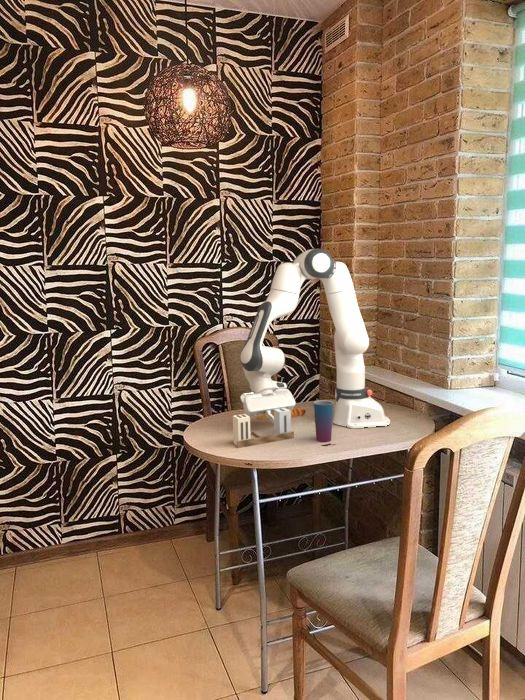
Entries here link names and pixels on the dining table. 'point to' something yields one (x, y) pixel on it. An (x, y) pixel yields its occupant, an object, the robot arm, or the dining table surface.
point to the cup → (323, 420)
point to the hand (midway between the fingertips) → (276, 421)
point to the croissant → (294, 413)
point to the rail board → (264, 439)
